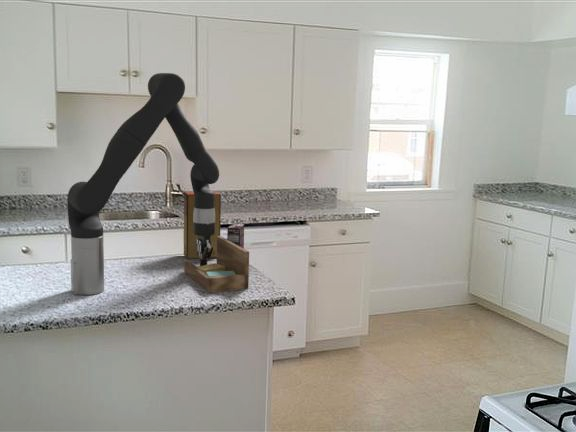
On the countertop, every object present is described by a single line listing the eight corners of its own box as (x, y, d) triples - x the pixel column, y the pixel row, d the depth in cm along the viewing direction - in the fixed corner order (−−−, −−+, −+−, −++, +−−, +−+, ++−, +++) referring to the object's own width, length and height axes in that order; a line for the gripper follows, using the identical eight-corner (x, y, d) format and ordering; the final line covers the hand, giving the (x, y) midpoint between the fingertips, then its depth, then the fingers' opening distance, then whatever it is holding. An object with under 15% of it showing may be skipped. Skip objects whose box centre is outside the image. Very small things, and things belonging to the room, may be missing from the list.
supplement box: (231, 265, 215) (231, 223, 212) (244, 266, 214) (245, 223, 212) (226, 271, 206) (226, 227, 204) (239, 272, 206) (240, 228, 203)
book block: (208, 288, 186) (208, 276, 185) (205, 283, 191) (205, 271, 191) (236, 287, 189) (236, 275, 188) (232, 282, 194) (233, 270, 193)
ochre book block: (203, 280, 195) (203, 270, 195) (194, 277, 199) (194, 267, 199) (224, 276, 201) (225, 266, 201) (215, 272, 205) (215, 263, 205)
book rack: (208, 292, 181) (209, 254, 179) (184, 271, 204) (184, 238, 202) (248, 288, 187) (249, 251, 185) (220, 268, 210) (220, 235, 208)
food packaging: (215, 252, 235) (216, 190, 230) (220, 257, 226) (221, 193, 222) (182, 253, 230) (183, 190, 226) (186, 259, 222) (186, 194, 217)
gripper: (187, 217, 205) (187, 265, 208) (200, 224, 194) (199, 275, 196) (208, 216, 209) (207, 263, 211) (221, 223, 197) (220, 273, 200)
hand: (203, 269), depth 204 cm, fingers closed
